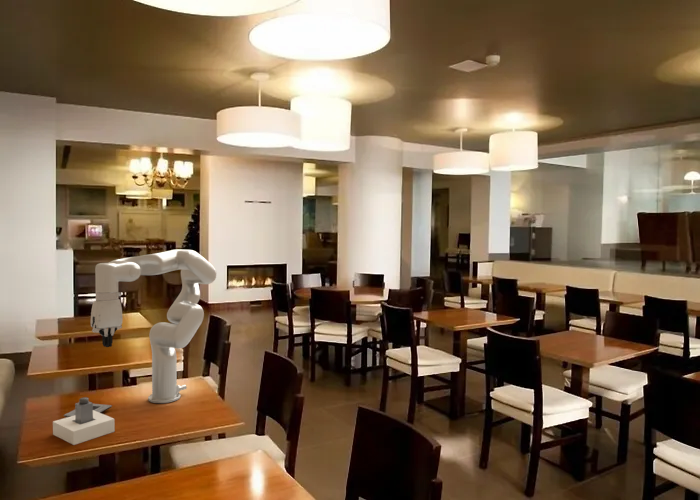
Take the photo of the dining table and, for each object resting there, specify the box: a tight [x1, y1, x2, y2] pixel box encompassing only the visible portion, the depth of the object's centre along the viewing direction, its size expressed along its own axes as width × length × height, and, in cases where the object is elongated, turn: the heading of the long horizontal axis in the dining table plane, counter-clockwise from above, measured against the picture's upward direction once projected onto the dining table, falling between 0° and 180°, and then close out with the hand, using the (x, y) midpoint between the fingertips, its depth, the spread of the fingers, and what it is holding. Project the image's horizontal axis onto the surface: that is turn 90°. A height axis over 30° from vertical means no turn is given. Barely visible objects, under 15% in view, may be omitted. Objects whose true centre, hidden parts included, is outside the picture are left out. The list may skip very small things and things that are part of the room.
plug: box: [74, 396, 94, 424], centre depth 178 cm, size 4×4×12 cm
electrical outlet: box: [63, 403, 113, 418], centre depth 196 cm, size 13×10×2 cm
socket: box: [52, 410, 116, 446], centre depth 179 cm, size 14×14×4 cm
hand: (107, 346), depth 191 cm, fingers closed
